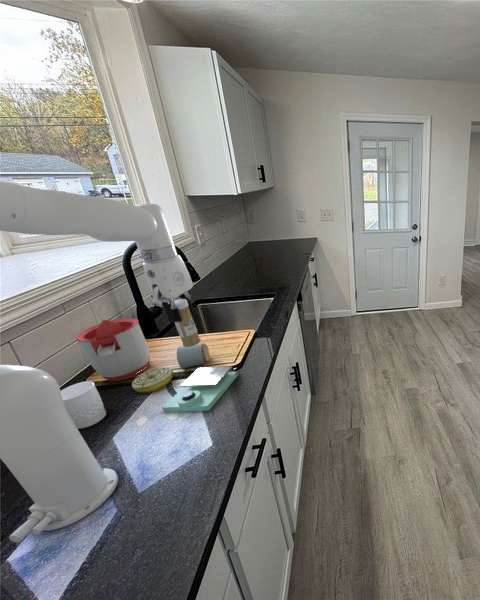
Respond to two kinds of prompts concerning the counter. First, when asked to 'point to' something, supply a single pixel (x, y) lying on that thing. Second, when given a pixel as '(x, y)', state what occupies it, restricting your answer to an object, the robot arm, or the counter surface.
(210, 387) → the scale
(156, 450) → the counter surface
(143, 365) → the citrus juicer
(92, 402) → the white cup
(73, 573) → the counter surface
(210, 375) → the scale pan
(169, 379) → the decorated donut
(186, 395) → the tare button
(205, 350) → the ceramic mug
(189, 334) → the sprinkles bottle
